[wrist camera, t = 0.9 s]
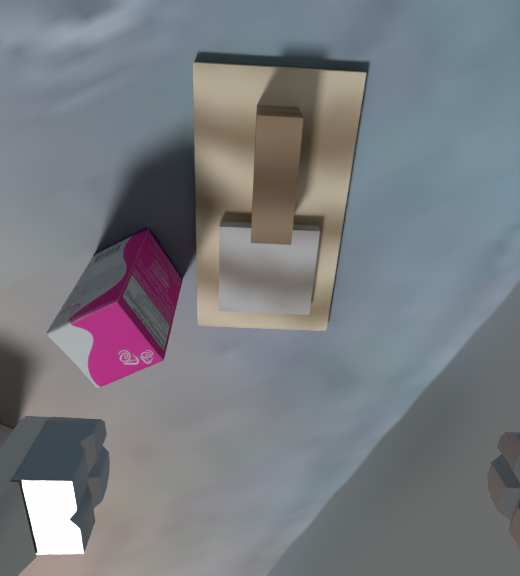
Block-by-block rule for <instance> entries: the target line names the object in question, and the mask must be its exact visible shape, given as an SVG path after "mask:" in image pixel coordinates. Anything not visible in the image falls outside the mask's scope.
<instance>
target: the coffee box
mask: <svg viewBox="0 0 520 576" xmlns="http://www.w3.org/2000/svg"><path fill="white" fill-rule="evenodd" d="M13 430H14V429H12V428H9V427H7V426H5V425H2V424H0V449H1V448H2V446H3V445H4V443H5V442H6V440H7V439H8V437H9V436H10V434H11V433H12V431H13Z"/></svg>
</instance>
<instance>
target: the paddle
mask: <svg viewBox="0 0 520 576" xmlns="http://www.w3.org/2000/svg"><path fill="white" fill-rule="evenodd" d="M302 128H303V116H302V114H301V112H300V109H299V107H283V106H265V105H257V111H256V132H255V153H254V175H253V196H252V217H251V222H234V221H220V228H219V311H226V312H251V313H276V314H300V315H309V313H310V305H311V298H312V290H313V282H314V275H315V267H316V259H317V252H318V244H319V236H320V229H319V226H318V225H298V224H293V221H294V211H295V201H296V190H297V180H298V170H299V159H300V149H301V139H302Z"/></svg>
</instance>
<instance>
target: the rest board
mask: <svg viewBox="0 0 520 576" xmlns="http://www.w3.org/2000/svg"><path fill="white" fill-rule="evenodd" d="M365 79H366V72H361V71H344V70H327V69H310V68H293V67H276V66H259V65H242V64H225V63H208V62H193V89H194V145H195V202H196V259H197V315H198V326H217V327H242V328H268V329H294V330H319V331H326V330H327V324H328V317H329V311H330V304H331V298H332V291H333V285H334V279H335V272H336V266H337V259H338V253H339V246H340V240H341V234H342V227H343V221H344V214H345V208H346V201H347V195H348V189H349V182H350V176H351V169H352V163H353V156H354V150H355V144H356V137H357V131H358V124H359V118H360V111H361V105H362V99H363V92H364V86H365ZM257 105H265V106H283V107H299V109H300V112H301V114H302V116H303V128H302V139H301V149H300V159H299V170H298V180H297V190H296V201H295V211H294V221H293V224H298V225H318V226H319V229H320V236H319V244H318V252H317V259H316V267H315V275H314V282H313V290H312V298H311V305H310V313H309V315H300V314H276V313H251V312H226V311H219V228H220V221H234V222H251V217H252V196H253V175H254V153H255V132H256V111H257Z"/></svg>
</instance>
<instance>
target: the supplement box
mask: <svg viewBox="0 0 520 576" xmlns="http://www.w3.org/2000/svg"><path fill="white" fill-rule="evenodd" d="M182 280H183V278H182V276H181V275H180V273H179V272H178V270H177V269H176V267H175V266H174V264H173V263H172V261H171V260H170V258H169V257H168V255H167V254H166V252H165V251H164V249H163V248H162V246H161V245H160V243H159V242H158V240H157V239H156V237H155V236H154V234H153V233H152V232H151V230H150V228H145V229H143V230H141V231H139V232H137V233H135V234H132V235H130V236H128V237H126V238H124V239H122V240H120V241H118V242H116V243H114V244H112V245H110V246H108V247H106V248H104V249H102V250H101V251H99V252H97V253H95V254H94V255H93V258H92V259H91V261H90V263H89V264H88V266H87V268H86V269H85V271H84V273H83V274H82V276H81V277H80V279H79V281H78V282H77V284H76V286H75V287H74V289H73V290H72V292H71V294H70V295H69V297H68V299H67V300H66V302H65V303H64V305H63V307H62V309H61V310H60V312H59V313H58V315H57V317H56V318H55V320H54V321H53V323H52V325H51V326H50V328H49V330H48V331H47V335H48V336H49V337H50V338H51V339H52V340H53V341H54V342H55V343H56V344H57V345H58V346H59V347H60V348H61V349H62V350H63V351H64V352H65V353H66V355H67V356H68V357H69V358H70V359H71V360H72V361H73V362H74V363H75V364H76V365H77V366H78V367H79V368H80V370H81V371H82V372H83V373H84V374H85V375H86V376H87V377H88V378H89V379H90V380H91V382H92V383H93V384H94V385H95V386H96V387H97V388H99V387H102V386H104V385H107V384H109V383H111V382H114V381H116V380H118V379H121V378H123V377H125V376H128V375H130V374H132V373H134V372H137V371H139V370H142V369H144V368H146V367H149V366H151V365H153V364H156V363H158V362H161V361H163V360H164V357H165V352H166V348H167V344H168V340H169V335H170V331H171V327H172V323H173V318H174V314H175V309H176V305H177V301H178V297H179V293H180V288H181V284H182Z"/></svg>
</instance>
